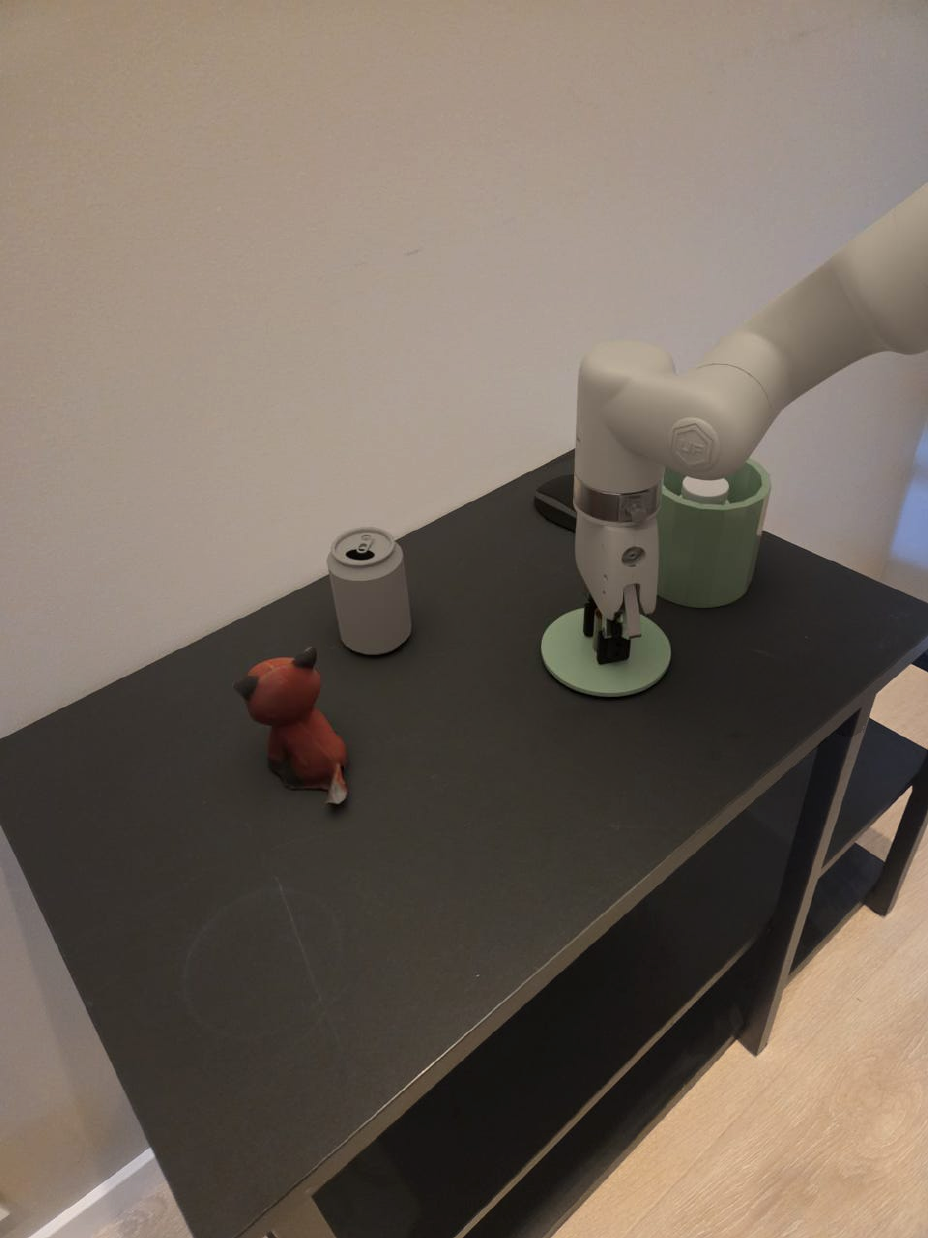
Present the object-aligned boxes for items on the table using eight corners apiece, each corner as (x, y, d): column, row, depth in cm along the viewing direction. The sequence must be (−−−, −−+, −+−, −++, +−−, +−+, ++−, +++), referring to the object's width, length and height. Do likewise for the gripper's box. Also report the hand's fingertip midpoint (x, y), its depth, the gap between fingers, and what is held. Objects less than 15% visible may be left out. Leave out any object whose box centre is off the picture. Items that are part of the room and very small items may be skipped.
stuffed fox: (312, 836, 72) (286, 741, 65) (244, 761, 79) (213, 666, 71) (384, 787, 76) (368, 690, 68) (313, 718, 83) (291, 623, 75)
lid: (642, 605, 93) (646, 563, 89) (690, 687, 83) (697, 643, 80) (526, 626, 91) (526, 583, 88) (562, 712, 82) (563, 668, 78)
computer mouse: (594, 546, 101) (596, 518, 99) (521, 506, 109) (521, 478, 106) (634, 522, 105) (636, 494, 102) (561, 484, 112) (561, 457, 109)
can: (331, 655, 89) (312, 562, 82) (355, 609, 95) (339, 517, 87) (400, 664, 88) (387, 570, 80) (420, 617, 93) (410, 524, 86)
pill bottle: (657, 579, 95) (668, 493, 88) (671, 548, 100) (682, 463, 92) (714, 591, 93) (730, 504, 86) (725, 559, 98) (741, 473, 90)
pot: (722, 536, 102) (738, 441, 94) (769, 597, 93) (792, 498, 85) (626, 552, 100) (635, 457, 92) (665, 616, 91) (678, 517, 83)
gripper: (698, 535, 69) (673, 697, 81) (625, 437, 81) (613, 590, 93) (607, 550, 68) (596, 712, 80) (548, 449, 80) (546, 601, 92)
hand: (605, 645), depth 86 cm, fingers open, 3 cm apart
